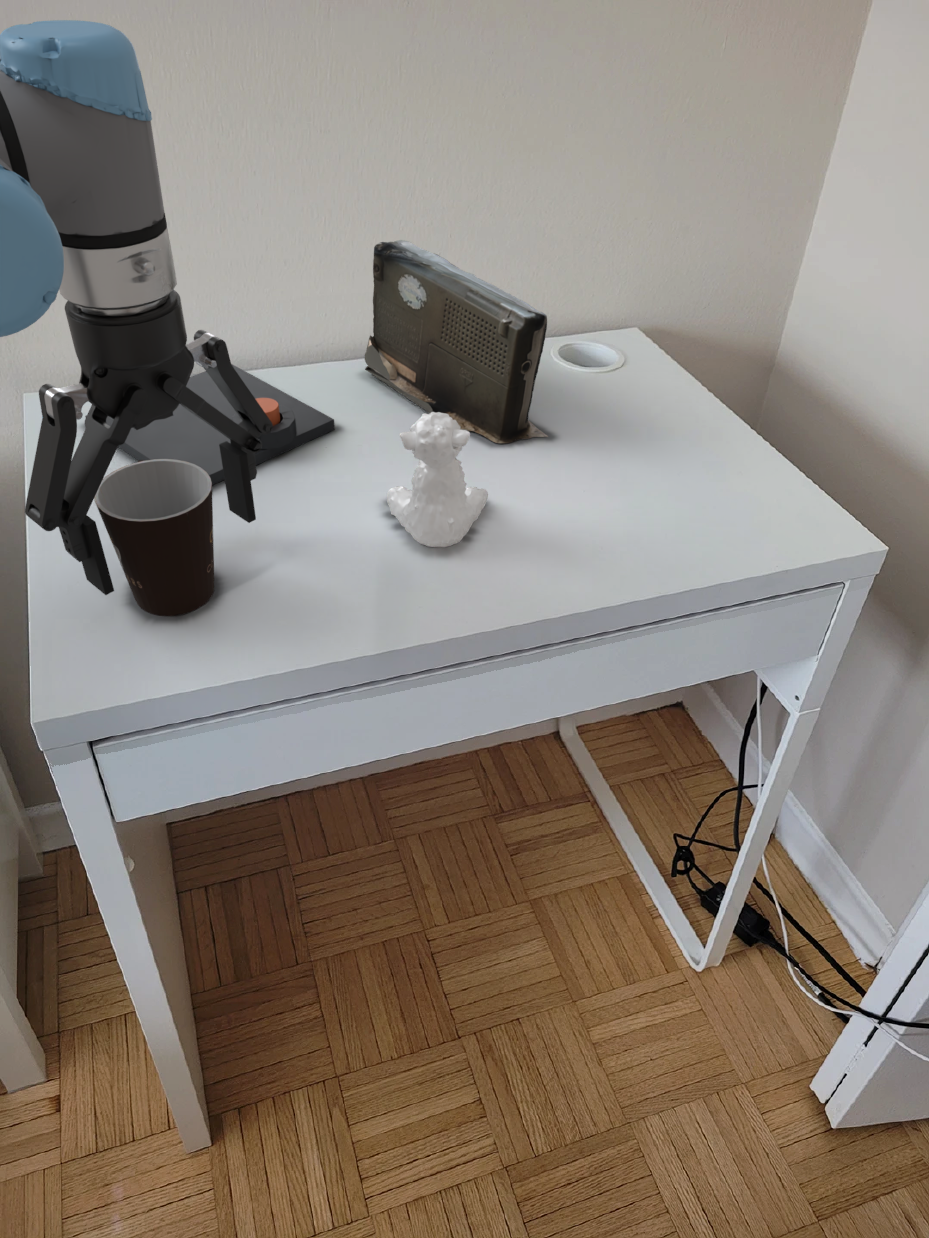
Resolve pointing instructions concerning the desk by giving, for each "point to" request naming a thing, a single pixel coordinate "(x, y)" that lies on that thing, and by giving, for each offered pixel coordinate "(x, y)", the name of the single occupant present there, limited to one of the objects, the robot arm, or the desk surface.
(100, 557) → the robot arm
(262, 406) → the button
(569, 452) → the desk surface
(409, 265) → the radio
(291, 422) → the scale
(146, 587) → the coffee mug
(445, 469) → the sitting furry creature
